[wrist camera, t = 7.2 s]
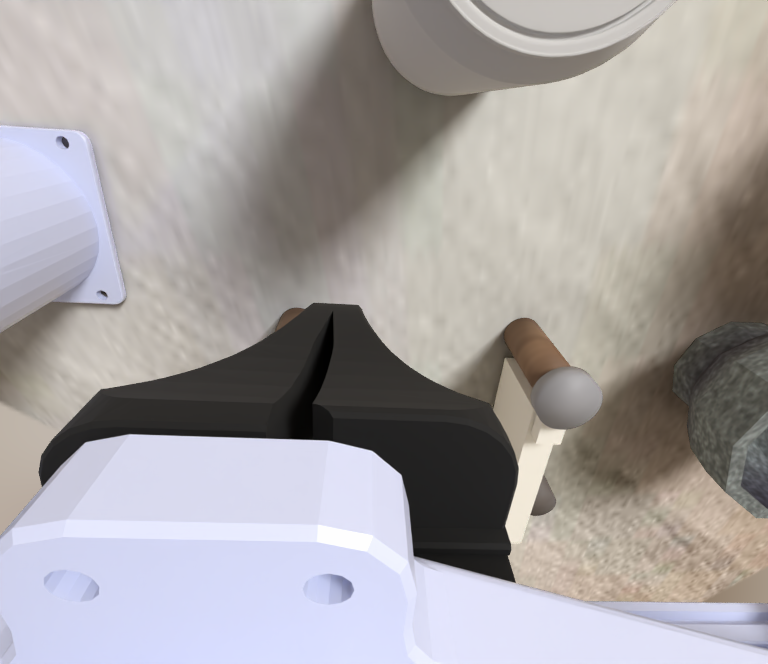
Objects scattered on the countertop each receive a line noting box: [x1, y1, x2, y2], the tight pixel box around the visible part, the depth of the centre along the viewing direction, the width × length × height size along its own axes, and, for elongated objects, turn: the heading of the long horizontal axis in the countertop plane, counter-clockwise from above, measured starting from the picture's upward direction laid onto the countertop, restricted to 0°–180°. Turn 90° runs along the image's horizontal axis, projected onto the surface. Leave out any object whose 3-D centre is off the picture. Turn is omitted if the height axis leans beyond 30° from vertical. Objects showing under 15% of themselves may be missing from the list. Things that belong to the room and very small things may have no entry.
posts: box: [275, 308, 570, 516], centre depth 23 cm, size 16×12×6 cm
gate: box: [493, 358, 603, 543], centre depth 23 cm, size 12×3×6 cm, turn 176°
